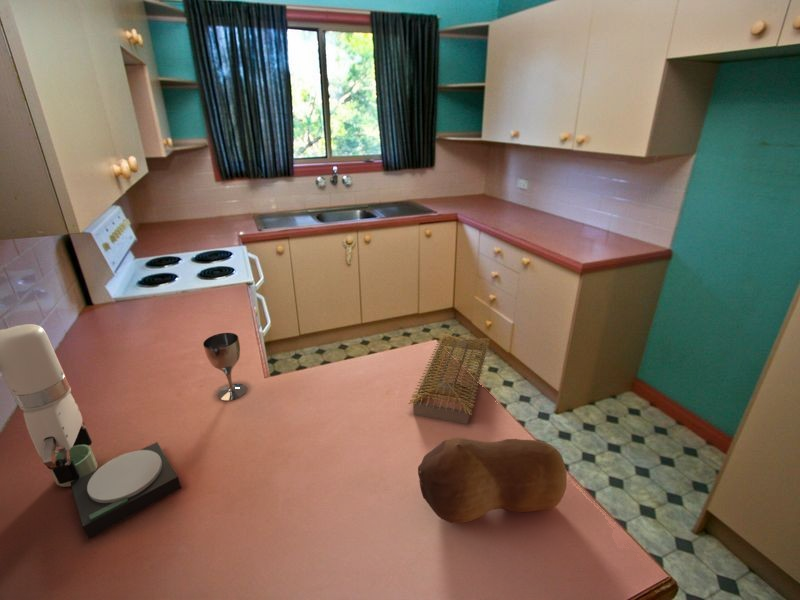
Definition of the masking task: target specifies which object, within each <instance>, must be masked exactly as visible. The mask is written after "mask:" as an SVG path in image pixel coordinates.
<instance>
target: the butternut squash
mask: <svg viewBox="0 0 800 600" xmlns="http://www.w3.org/2000/svg"><path fill="white" fill-rule="evenodd" d="M417 475H418V478H419V479H418V481H419V488H420V492H421V495H422V498H423V499H424V500H425V502H426V503H427V504H428V505H429V507H430V508H431V510H432V511H433V512H434V513H435V514H436V515H437V517H438V518H440V519H441V520H443V521H446V522H448V523H451V524H454V523H455V524H462V523H467V522H471V521H474V520H476V519H479V518H480V517H482V516H485V515H486V514H487V513H489V512H491V511H494V510H504V511H510V512H516V513H523V512H525V513H528V512H536V511H544V510H552V509H554V508H555V507H557V506H559V504H560V503H561V501H562V499H563V497H564V495H565V492H566V489H567V478H568V476H567V469H566V464H565V461H564V458H563V456H562V454H561V452H560V451H559V450H558V449H557V447H556V446H554V445H552V444H550V443H548V442H546V441H542V440H535V439H519V438H506V439H502V440H498V441H480V440H476V439H470V438H466V437H465V438H464V437H460V436H459V437H452V438H448V439H445V440H443V441H442V442H441V443H439V444H438V445H437V446H435V447H434V448H433V449H432V450H430V451H429V452H427V453H426V454H424V456H423V458H422V460H421V463H420V464H419V465H418V467H417Z"/></svg>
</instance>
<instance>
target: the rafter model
mask: <svg viewBox="0 0 800 600" xmlns="http://www.w3.org/2000/svg"><path fill="white" fill-rule="evenodd" d="M461 336H462V335H459V336H457V334H454V335H451V333H450V334H448V333H444V332H441V334H440V336H439V339H438V340H437V343H436V344H435V345H436V346H434V348H433V351H432V353H431V355H430V359H429V361H427V364H426V366H425V369H424V370H423V371H424V372H422V375H421V376H420V377H421V378H419V380H420V381H419V382H417V383H418V384H416V387H415V388H414V389H415V391H413V393H414V394H412V396H411V398H412V399H409V402H408V405H410V404H412V406H413V407H412V409H413V410H412V411H413V413H412V414H413V415H415V416H416V415H417V416H422V417H427V418H428V417H429V418H432V419H438V420H444V421H449V422H455V423H461V424H466V425H468V424H469V420H470V417H471V416H472V413H473V408H474V407H475V404H474V403H476V401H475V400H477V398H476V397H477V393H478V391H477V390H479V386H480V385H479V384H480V380H481V378H480V377H482V375H481V374H483V372H482V371H484V370H483V368H484V366H485V362H486V361H485V360H487V354H488V350H489V346H490V342H491V338H486V337H485V338H482V337H480V338H477V336H475V337H474V338H472V336H469V337H467V335H464V337H461ZM444 360H445V361H444ZM477 382H478V383H477ZM441 394H442V395H441ZM445 395H446V396H445ZM425 399H427V401H426V402H427V403H424V402H423V400H425ZM430 400H433V404H431V403H429V402H430ZM436 401H440V403H439V405H436ZM443 402H447V404H446V406H442V404H443ZM449 403H453V407H448V406H449ZM456 404H458V405H460V408H459V409H458V408H455V407H456ZM462 408H463V409H462Z"/></svg>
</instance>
